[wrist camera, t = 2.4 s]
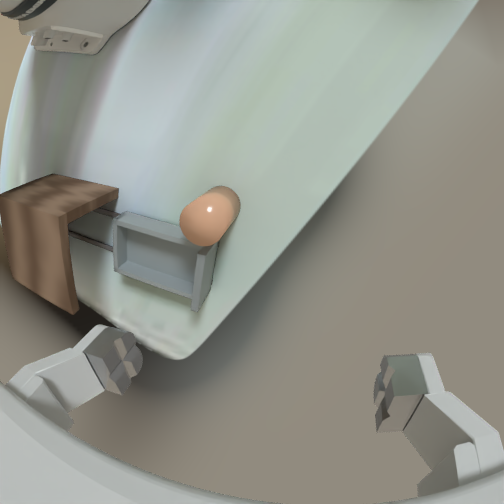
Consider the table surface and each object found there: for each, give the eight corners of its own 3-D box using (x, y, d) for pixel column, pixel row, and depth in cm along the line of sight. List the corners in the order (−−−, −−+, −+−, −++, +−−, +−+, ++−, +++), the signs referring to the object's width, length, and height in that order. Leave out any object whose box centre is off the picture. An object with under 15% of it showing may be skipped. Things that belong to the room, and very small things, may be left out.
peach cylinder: (200, 217, 30) (177, 239, 24) (206, 182, 28) (182, 196, 23) (236, 227, 29) (219, 251, 24) (244, 191, 28) (227, 208, 22)
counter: (57, 247, 36) (13, 278, 27) (52, 173, 31) (-2, 195, 22) (208, 304, 35) (177, 362, 26) (224, 215, 29) (185, 259, 20)
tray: (125, 261, 34) (106, 278, 30) (125, 211, 31) (103, 224, 27) (210, 289, 33) (197, 312, 29) (219, 237, 30) (205, 255, 26)
